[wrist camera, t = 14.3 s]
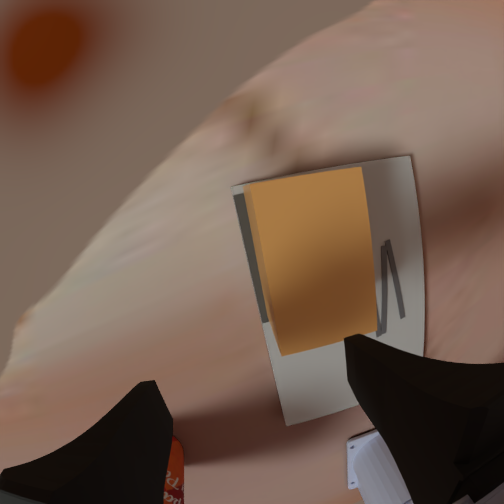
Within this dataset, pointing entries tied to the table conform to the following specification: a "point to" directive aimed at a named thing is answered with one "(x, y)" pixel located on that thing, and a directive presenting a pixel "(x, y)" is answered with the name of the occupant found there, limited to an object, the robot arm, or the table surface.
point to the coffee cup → (175, 475)
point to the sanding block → (314, 257)
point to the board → (386, 282)
